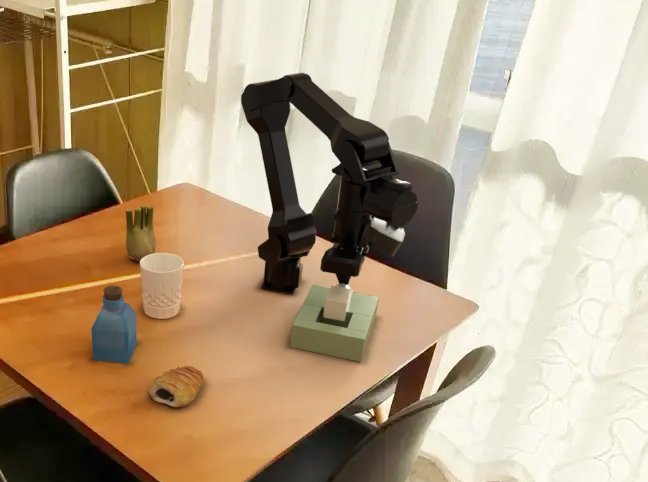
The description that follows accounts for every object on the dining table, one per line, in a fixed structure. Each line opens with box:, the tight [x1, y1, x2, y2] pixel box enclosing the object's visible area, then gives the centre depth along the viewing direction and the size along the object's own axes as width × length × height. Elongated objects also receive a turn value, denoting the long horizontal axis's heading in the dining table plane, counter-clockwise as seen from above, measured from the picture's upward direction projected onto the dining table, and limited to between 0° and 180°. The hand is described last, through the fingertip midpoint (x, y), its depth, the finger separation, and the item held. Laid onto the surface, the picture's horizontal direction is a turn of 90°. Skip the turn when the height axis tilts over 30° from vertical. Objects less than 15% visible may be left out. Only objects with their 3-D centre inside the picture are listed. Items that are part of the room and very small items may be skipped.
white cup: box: [139, 252, 185, 320], centre depth 137 cm, size 8×8×10 cm
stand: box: [289, 284, 380, 363], centre depth 131 cm, size 12×15×4 cm
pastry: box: [148, 365, 204, 408], centre depth 117 cm, size 9×7×4 cm
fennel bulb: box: [125, 204, 157, 263], centre depth 154 cm, size 6×5×12 cm
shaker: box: [323, 283, 353, 321], centre depth 129 cm, size 7×4×4 cm, turn 157°
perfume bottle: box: [90, 285, 138, 365], centre depth 124 cm, size 6×6×12 cm
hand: (343, 287), depth 132 cm, fingers closed
